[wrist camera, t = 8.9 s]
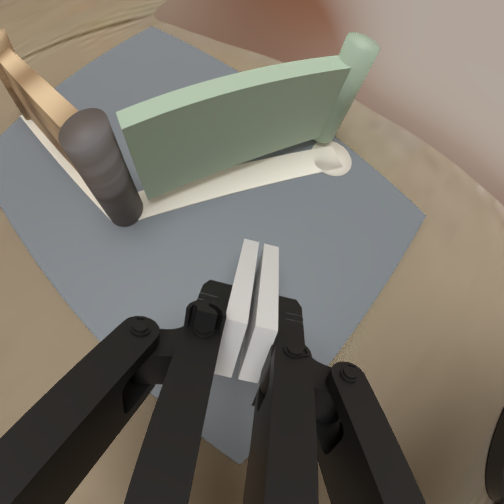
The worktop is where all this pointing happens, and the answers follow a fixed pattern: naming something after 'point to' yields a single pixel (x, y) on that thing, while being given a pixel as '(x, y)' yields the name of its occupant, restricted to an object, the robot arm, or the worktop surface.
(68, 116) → the fixed fence panel
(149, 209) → the card
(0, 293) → the worktop surface
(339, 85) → the hinged fence panel
